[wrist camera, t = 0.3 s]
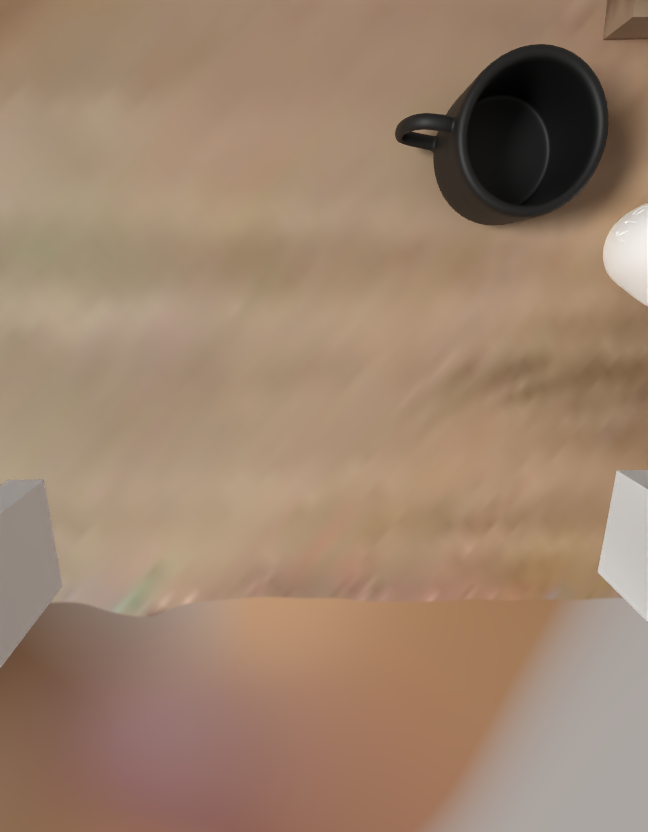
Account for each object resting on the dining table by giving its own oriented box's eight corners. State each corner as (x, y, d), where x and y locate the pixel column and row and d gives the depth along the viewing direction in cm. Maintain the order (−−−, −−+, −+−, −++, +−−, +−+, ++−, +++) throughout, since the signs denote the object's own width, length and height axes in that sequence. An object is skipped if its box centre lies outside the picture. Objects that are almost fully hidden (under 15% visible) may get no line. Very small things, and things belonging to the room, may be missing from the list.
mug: (564, 100, 34) (631, 56, 27) (532, 236, 36) (586, 227, 29) (397, 71, 33) (423, 17, 26) (375, 212, 35) (394, 197, 28)
